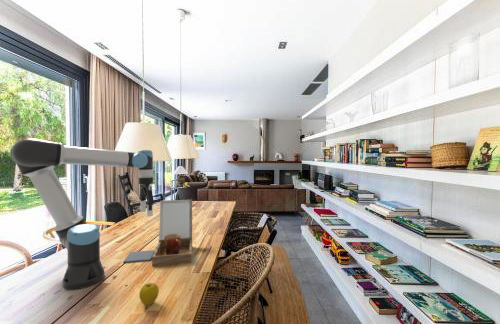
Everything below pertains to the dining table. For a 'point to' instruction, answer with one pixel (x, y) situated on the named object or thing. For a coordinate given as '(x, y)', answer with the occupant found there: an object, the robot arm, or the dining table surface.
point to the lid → (175, 218)
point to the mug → (172, 244)
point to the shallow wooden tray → (172, 258)
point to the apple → (149, 293)
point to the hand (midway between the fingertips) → (146, 214)
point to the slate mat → (139, 256)
